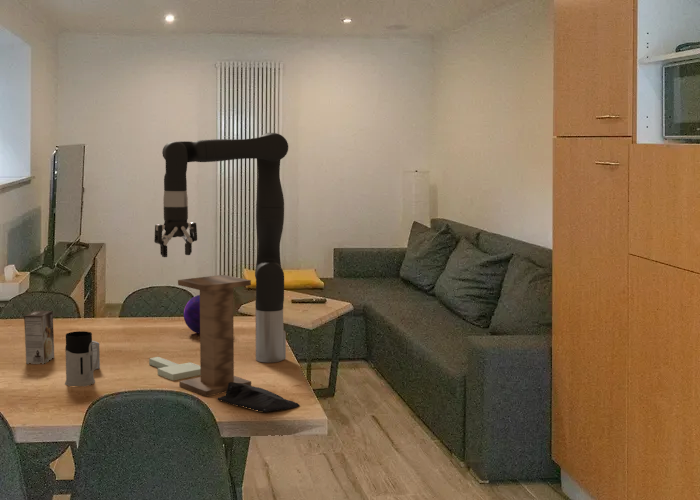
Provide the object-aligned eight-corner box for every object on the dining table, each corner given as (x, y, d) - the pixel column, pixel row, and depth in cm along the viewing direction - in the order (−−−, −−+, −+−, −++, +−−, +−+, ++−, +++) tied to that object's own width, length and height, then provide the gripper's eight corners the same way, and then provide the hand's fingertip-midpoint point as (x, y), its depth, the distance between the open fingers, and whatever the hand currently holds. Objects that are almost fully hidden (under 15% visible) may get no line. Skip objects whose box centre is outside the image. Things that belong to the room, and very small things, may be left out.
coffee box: (36, 357, 295) (34, 310, 293) (54, 357, 294) (53, 310, 292) (25, 364, 285) (23, 315, 284) (44, 364, 285) (43, 315, 283)
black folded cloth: (259, 419, 233) (259, 401, 232) (213, 400, 249) (213, 384, 249) (304, 408, 243) (304, 391, 243) (257, 390, 259) (257, 375, 259)
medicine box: (94, 366, 284) (93, 340, 283) (100, 369, 280) (99, 342, 279) (70, 370, 279) (69, 343, 278) (76, 373, 275) (75, 346, 274)
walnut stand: (223, 376, 272) (223, 274, 269) (251, 386, 262) (250, 280, 258) (179, 386, 262) (177, 279, 258) (205, 396, 251) (204, 285, 248)
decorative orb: (210, 327, 344) (210, 290, 342) (231, 334, 332) (231, 295, 331) (176, 332, 334) (176, 293, 332) (196, 339, 323) (196, 299, 321)
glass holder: (84, 377, 270) (82, 329, 268) (112, 385, 261) (110, 336, 260) (58, 383, 264) (57, 334, 262) (86, 392, 255) (85, 341, 253)
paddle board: (169, 360, 292) (169, 354, 291) (206, 374, 276) (206, 367, 276) (137, 366, 284) (137, 360, 283) (172, 380, 268) (172, 374, 268)
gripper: (162, 206, 270) (163, 259, 272) (201, 204, 280) (201, 255, 282) (149, 205, 276) (150, 256, 278) (188, 203, 285) (189, 253, 287)
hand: (176, 255), depth 280 cm, fingers open, 8 cm apart
